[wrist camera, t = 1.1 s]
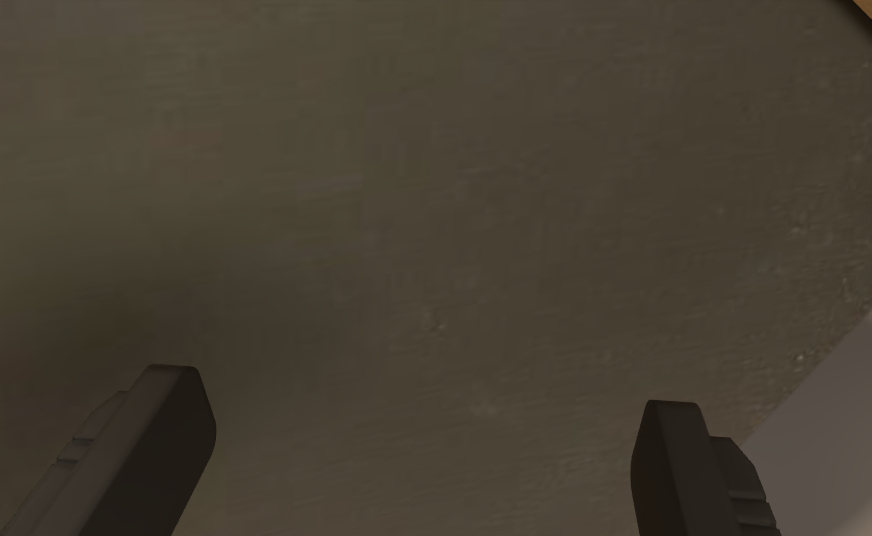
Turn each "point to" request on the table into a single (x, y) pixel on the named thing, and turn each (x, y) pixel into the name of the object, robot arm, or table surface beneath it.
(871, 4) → the tray
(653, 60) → the table surface
